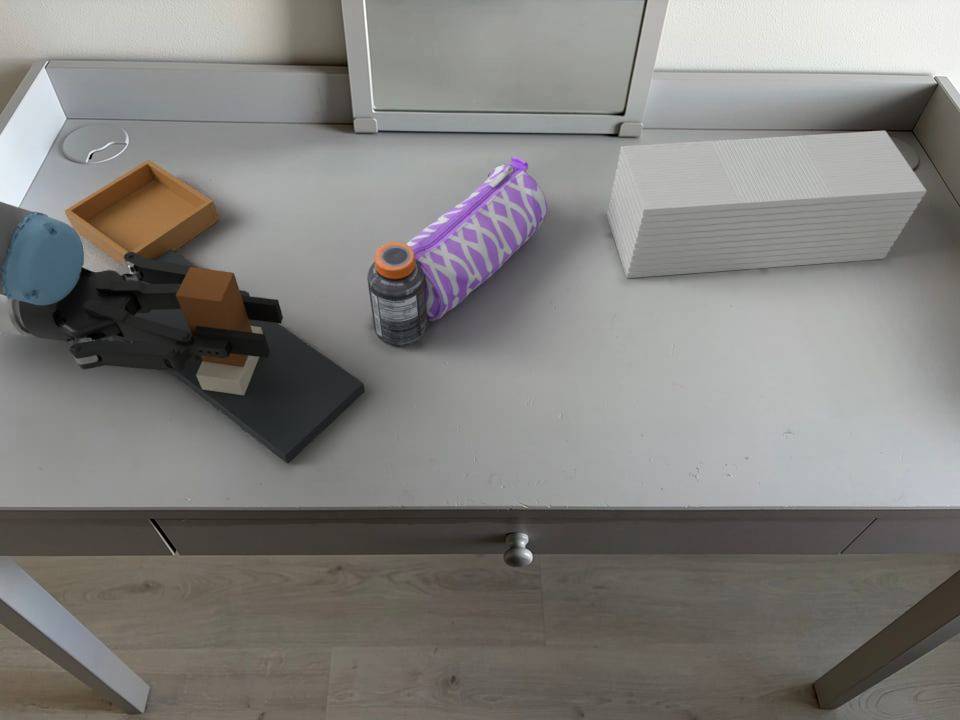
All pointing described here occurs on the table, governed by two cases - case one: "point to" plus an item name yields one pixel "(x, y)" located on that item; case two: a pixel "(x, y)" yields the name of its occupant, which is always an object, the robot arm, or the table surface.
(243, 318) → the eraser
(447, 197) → the table surface
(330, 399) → the slate board
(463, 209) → the pencil case
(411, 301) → the pill bottle
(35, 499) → the table surface
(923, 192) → the stack of papers
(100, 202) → the tray
